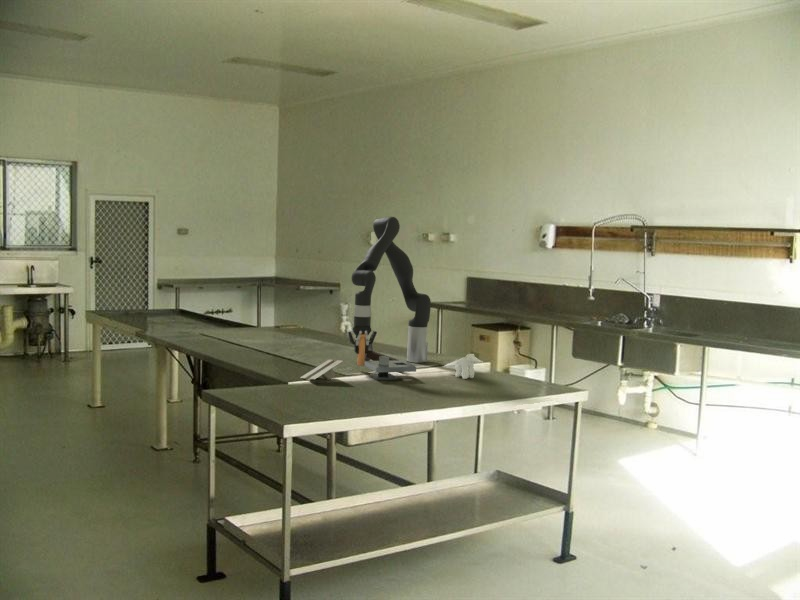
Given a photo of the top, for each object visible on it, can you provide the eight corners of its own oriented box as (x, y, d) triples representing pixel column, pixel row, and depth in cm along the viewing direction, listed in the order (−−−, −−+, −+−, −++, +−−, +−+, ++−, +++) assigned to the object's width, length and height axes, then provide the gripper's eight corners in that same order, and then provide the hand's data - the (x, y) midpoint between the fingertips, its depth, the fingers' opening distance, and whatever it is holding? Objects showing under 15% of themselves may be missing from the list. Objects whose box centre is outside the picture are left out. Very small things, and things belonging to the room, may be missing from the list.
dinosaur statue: (477, 380, 363) (477, 355, 363) (437, 377, 380) (436, 352, 380) (487, 379, 368) (487, 354, 368) (447, 375, 385) (446, 351, 385)
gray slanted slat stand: (328, 394, 344) (352, 368, 349) (314, 379, 341) (339, 353, 347) (312, 392, 358) (335, 368, 364) (299, 377, 355) (323, 353, 361)
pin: (363, 363, 378) (364, 333, 377) (366, 365, 374) (367, 334, 373) (354, 364, 377) (355, 333, 375) (357, 365, 373) (358, 334, 371)
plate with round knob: (375, 381, 354) (376, 360, 353) (364, 374, 369) (365, 354, 368) (415, 380, 361) (416, 360, 360) (402, 373, 376) (403, 353, 375)
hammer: (404, 379, 381) (363, 360, 402) (407, 356, 379) (366, 338, 400) (396, 380, 378) (355, 361, 399) (399, 356, 375) (358, 338, 397)
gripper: (374, 313, 379) (373, 351, 381) (344, 314, 374) (343, 352, 376) (380, 316, 372) (378, 354, 374) (349, 316, 367) (348, 355, 369)
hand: (361, 353), depth 375 cm, fingers closed on pin, 3 cm apart
